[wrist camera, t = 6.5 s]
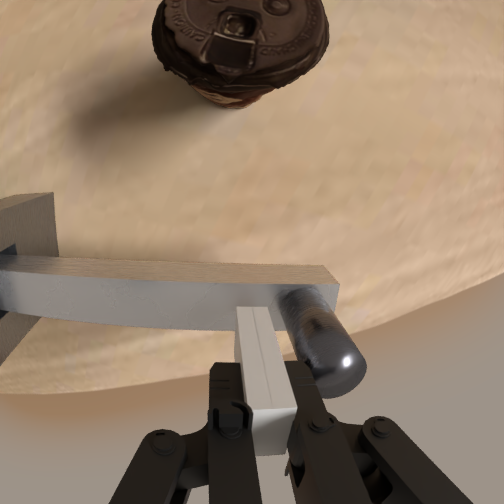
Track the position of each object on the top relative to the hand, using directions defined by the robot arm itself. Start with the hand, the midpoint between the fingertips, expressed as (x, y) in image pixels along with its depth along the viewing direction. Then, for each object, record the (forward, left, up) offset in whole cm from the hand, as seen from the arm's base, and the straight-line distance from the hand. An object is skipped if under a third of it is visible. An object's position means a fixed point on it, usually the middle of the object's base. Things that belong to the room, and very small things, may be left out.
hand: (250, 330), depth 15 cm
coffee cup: (-1, +15, -13) cm, 20 cm away
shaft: (-8, 0, -5) cm, 9 cm away
